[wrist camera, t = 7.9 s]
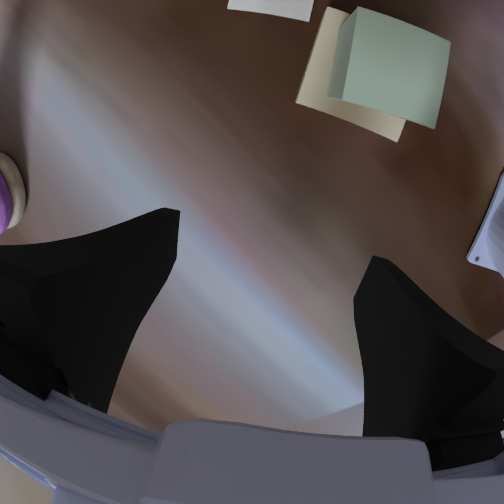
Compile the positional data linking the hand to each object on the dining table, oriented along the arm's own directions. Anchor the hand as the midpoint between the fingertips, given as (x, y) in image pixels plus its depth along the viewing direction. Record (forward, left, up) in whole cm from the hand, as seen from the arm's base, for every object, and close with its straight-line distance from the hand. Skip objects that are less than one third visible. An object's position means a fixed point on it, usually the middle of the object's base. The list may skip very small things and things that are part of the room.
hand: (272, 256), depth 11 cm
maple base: (-3, -8, -10) cm, 13 cm away
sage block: (-3, -8, -7) cm, 11 cm away
